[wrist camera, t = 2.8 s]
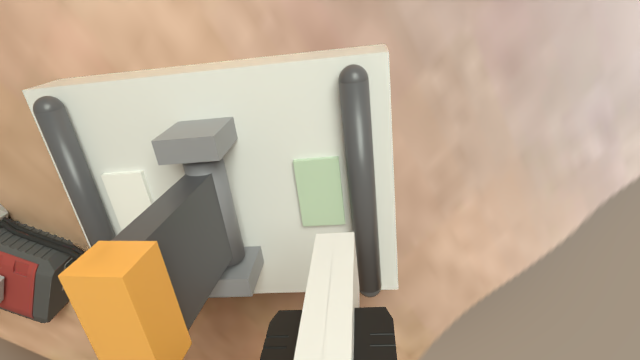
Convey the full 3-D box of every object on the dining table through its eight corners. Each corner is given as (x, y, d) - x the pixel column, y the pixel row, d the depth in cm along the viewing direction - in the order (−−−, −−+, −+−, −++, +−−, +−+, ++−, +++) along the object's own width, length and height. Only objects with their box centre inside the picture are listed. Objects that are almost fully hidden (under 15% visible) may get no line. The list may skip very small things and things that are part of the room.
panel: (60, 78, 24) (-29, 105, 18) (385, 43, 21) (393, 62, 16) (134, 269, 29) (83, 332, 24) (394, 259, 27) (403, 326, 22)
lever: (189, 152, 21) (51, 263, 13) (232, 150, 21) (117, 264, 12) (215, 246, 24) (113, 390, 15) (253, 246, 23) (170, 396, 15)
